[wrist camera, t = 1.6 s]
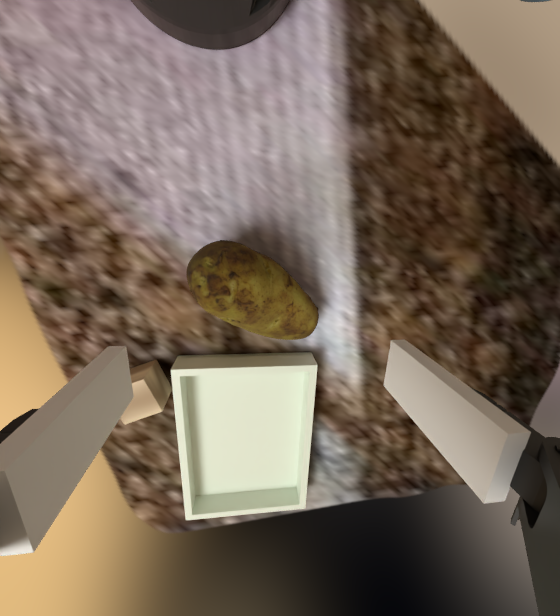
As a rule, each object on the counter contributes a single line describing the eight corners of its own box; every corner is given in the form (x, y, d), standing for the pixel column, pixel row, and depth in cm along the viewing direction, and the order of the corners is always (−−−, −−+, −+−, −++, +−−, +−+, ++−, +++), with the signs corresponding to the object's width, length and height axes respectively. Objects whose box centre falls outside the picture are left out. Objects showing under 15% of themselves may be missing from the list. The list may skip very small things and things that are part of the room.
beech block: (121, 371, 29) (103, 393, 26) (156, 359, 29) (143, 379, 26) (139, 399, 31) (124, 424, 27) (172, 388, 31) (162, 411, 27)
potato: (259, 354, 31) (264, 397, 23) (183, 262, 27) (159, 278, 19) (320, 313, 30) (345, 343, 23) (251, 212, 26) (253, 208, 18)
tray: (177, 355, 30) (170, 369, 27) (311, 352, 31) (317, 364, 29) (190, 496, 36) (185, 520, 33) (300, 486, 38) (305, 508, 35)
